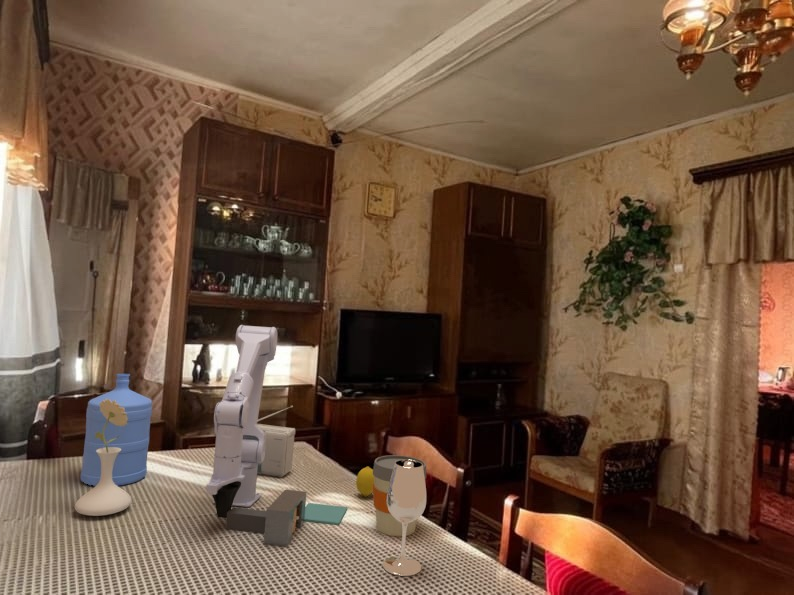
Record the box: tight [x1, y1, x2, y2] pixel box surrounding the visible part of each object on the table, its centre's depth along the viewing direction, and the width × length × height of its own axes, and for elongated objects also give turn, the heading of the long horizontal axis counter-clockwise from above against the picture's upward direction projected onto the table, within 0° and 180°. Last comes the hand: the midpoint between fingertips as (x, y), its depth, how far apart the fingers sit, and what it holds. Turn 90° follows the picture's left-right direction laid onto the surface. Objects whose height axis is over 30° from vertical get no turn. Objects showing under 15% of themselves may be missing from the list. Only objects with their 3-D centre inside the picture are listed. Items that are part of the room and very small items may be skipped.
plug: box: [292, 507, 299, 534], centre depth 111 cm, size 5×4×5 cm
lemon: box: [355, 466, 374, 498], centre depth 136 cm, size 6×6×8 cm
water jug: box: [80, 373, 153, 487], centre depth 137 cm, size 16×16×28 cm
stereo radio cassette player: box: [243, 405, 296, 478], centre depth 152 cm, size 21×8×20 cm, turn 77°
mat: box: [304, 502, 348, 526], centre depth 122 cm, size 10×10×1 cm
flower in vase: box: [74, 399, 133, 517], centre depth 116 cm, size 13×11×25 cm
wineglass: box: [382, 460, 427, 577], centre depth 99 cm, size 8×8×20 cm
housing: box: [263, 489, 307, 547], centre depth 111 cm, size 5×12×7 cm, turn 174°
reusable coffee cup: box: [372, 454, 427, 537], centre depth 117 cm, size 13×13×15 cm
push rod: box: [225, 506, 266, 534], centre depth 112 cm, size 10×3×4 cm, turn 84°
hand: (223, 516), depth 112 cm, fingers closed, pressing on push rod
